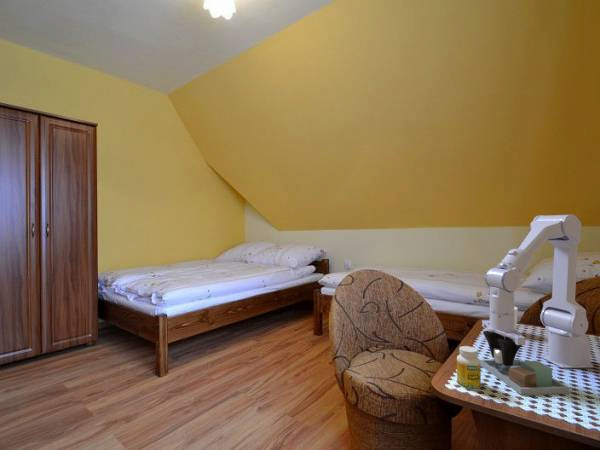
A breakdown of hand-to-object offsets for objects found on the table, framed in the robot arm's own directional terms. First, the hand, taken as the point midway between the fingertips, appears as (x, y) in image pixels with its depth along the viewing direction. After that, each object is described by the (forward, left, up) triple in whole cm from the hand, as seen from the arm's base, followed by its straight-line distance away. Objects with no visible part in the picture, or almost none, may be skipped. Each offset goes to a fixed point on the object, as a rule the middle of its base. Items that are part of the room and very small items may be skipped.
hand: (502, 361), depth 86 cm
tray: (-3, +3, -3) cm, 5 cm away
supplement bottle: (+13, +6, -4) cm, 15 cm away
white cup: (-23, -31, -4) cm, 39 cm away
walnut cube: (0, +8, -3) cm, 8 cm away
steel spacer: (0, 0, -2) cm, 2 cm away
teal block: (-5, +6, -3) cm, 8 cm away
